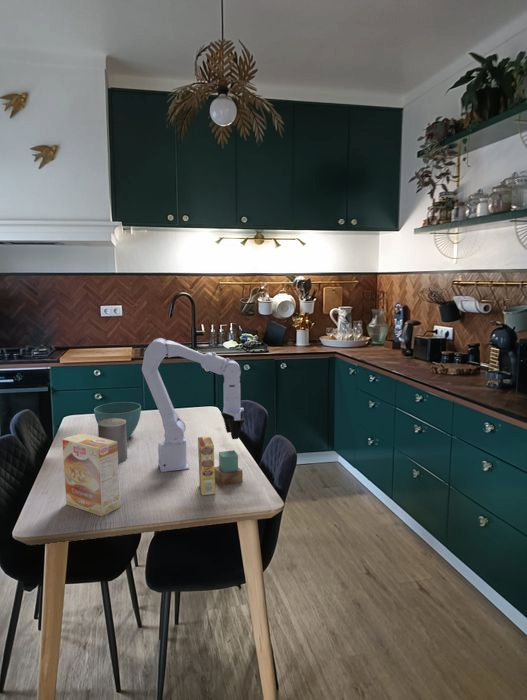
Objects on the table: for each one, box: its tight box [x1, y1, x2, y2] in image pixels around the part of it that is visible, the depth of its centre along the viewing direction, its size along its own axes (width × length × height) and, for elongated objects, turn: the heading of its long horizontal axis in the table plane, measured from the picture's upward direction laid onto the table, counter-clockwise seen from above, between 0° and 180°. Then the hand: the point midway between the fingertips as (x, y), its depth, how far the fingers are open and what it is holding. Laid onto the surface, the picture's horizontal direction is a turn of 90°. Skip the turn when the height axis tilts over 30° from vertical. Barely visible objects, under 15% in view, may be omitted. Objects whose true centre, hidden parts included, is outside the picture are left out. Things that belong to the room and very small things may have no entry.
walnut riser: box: [214, 465, 244, 487], centre depth 164 cm, size 7×7×4 cm
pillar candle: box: [97, 418, 128, 464], centre depth 182 cm, size 10×10×15 cm
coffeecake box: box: [61, 432, 121, 517], centre depth 144 cm, size 15×7×20 cm, turn 58°
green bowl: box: [93, 401, 142, 439], centre depth 207 cm, size 18×18×12 cm
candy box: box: [197, 436, 216, 496], centre depth 156 cm, size 9×4×15 cm, turn 13°
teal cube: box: [218, 449, 239, 472], centre depth 163 cm, size 5×5×5 cm
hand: (232, 435), depth 176 cm, fingers open, 7 cm apart
